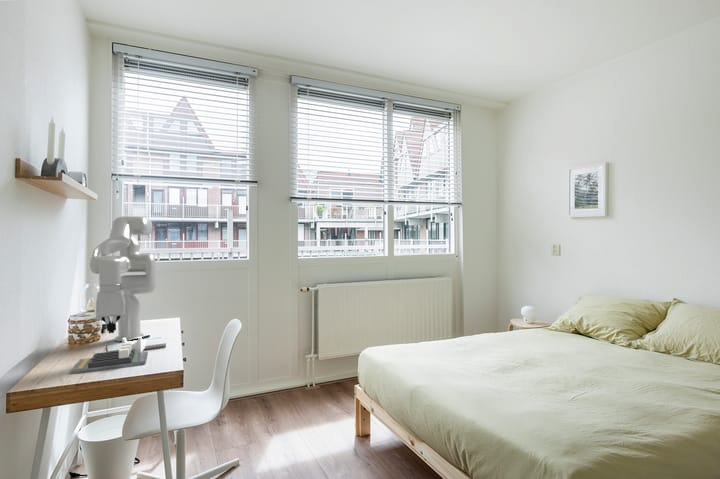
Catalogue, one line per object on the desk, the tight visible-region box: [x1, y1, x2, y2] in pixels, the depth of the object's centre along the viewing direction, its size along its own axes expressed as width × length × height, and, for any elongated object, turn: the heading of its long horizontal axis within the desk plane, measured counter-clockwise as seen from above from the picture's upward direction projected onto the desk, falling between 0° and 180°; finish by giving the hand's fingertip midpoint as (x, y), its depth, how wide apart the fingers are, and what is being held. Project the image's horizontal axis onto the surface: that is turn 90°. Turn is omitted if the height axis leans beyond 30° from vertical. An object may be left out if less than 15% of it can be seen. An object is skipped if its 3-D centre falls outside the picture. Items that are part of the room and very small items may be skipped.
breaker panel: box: [71, 349, 149, 374], centre depth 157 cm, size 15×24×3 cm, turn 115°
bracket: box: [121, 336, 148, 353], centre depth 174 cm, size 13×7×8 cm, turn 18°
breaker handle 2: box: [118, 348, 129, 359], centre depth 155 cm, size 3×3×5 cm
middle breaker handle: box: [120, 345, 131, 354], centre depth 159 cm, size 3×3×5 cm
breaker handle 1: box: [121, 341, 132, 350], centre depth 164 cm, size 3×3×5 cm
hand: (111, 332), depth 162 cm, fingers closed
